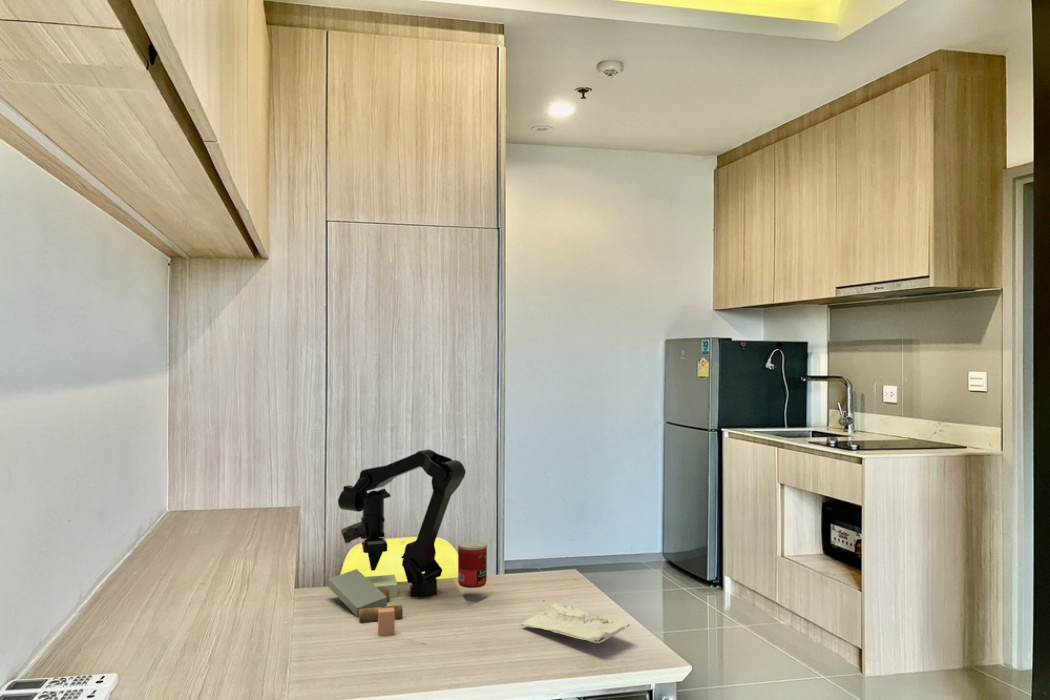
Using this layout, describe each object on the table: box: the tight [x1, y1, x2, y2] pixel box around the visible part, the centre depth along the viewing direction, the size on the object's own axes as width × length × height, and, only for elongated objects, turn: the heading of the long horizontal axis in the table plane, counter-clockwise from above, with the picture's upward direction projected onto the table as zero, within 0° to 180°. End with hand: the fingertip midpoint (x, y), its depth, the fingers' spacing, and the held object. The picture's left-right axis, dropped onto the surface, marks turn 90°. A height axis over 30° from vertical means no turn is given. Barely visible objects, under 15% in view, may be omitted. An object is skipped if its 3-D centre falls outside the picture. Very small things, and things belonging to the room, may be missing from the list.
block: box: [365, 574, 399, 598], centre depth 188 cm, size 11×9×3 cm
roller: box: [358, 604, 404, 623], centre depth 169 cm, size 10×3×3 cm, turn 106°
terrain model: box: [521, 602, 631, 644], centre depth 166 cm, size 17×23×5 cm
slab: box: [327, 568, 388, 618], centre depth 179 cm, size 8×16×2 cm, turn 40°
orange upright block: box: [377, 607, 396, 637], centre depth 161 cm, size 4×2×5 cm
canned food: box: [457, 540, 488, 589], centre depth 196 cm, size 8×8×11 cm
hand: (373, 570), depth 195 cm, fingers closed
